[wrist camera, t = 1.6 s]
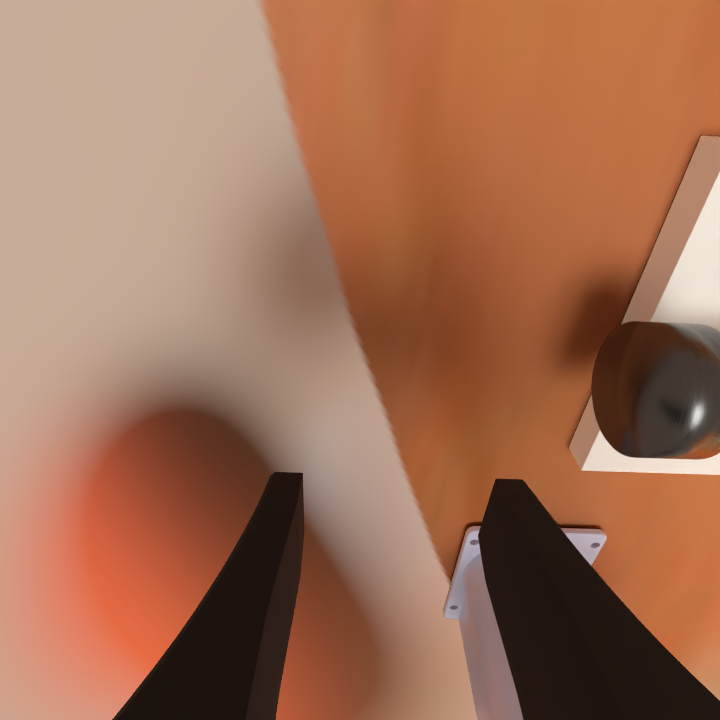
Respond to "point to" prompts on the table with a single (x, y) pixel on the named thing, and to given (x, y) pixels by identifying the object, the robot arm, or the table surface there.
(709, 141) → the shaft stand
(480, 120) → the table surface
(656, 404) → the shaft
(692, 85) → the table surface
